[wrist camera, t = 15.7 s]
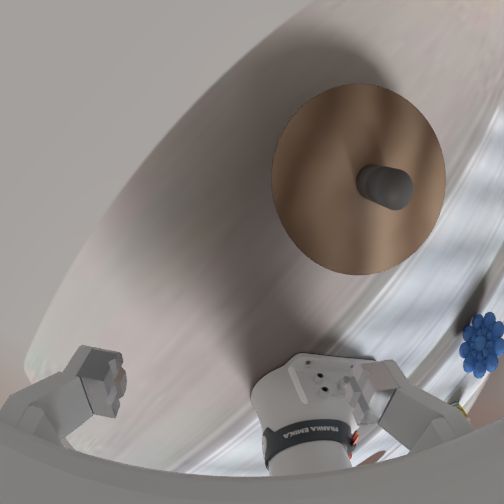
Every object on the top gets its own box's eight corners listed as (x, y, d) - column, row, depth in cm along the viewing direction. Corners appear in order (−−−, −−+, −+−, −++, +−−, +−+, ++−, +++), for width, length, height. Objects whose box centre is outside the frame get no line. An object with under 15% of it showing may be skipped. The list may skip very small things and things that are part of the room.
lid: (446, 109, 26) (479, 108, 20) (424, 272, 32) (451, 293, 27) (277, 71, 24) (288, 52, 19) (264, 269, 31) (271, 297, 25)
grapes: (457, 355, 48) (487, 390, 37) (442, 349, 47) (474, 387, 35) (489, 310, 45) (525, 340, 34) (476, 299, 43) (515, 331, 32)
